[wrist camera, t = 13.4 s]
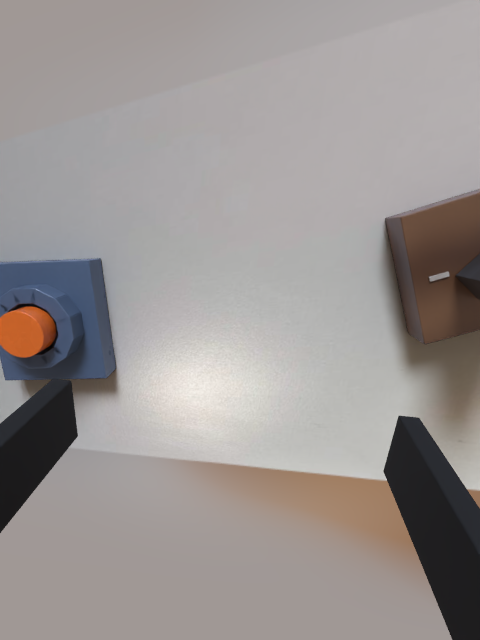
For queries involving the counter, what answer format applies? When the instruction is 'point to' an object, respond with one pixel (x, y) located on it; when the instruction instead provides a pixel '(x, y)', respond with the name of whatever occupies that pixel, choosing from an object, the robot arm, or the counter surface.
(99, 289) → the button box
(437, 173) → the counter surface
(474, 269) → the block
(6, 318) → the button
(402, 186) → the counter surface
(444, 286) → the dock
